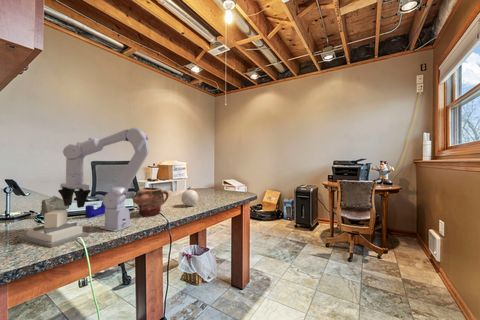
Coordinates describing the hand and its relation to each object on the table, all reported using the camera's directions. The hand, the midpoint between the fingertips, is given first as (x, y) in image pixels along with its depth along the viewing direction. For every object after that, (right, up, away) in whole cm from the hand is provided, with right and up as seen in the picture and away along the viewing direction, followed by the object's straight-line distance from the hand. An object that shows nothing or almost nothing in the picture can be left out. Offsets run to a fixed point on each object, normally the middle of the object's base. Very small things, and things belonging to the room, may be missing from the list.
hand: (74, 206), depth 89 cm
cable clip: (-6, -10, +22) cm, 25 cm away
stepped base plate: (0, -10, -10) cm, 13 cm away
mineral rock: (-24, -9, +19) cm, 33 cm away
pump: (+1, -5, -9) cm, 11 cm away
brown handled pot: (+22, -10, +26) cm, 35 cm away
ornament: (+37, -10, +47) cm, 61 cm away
